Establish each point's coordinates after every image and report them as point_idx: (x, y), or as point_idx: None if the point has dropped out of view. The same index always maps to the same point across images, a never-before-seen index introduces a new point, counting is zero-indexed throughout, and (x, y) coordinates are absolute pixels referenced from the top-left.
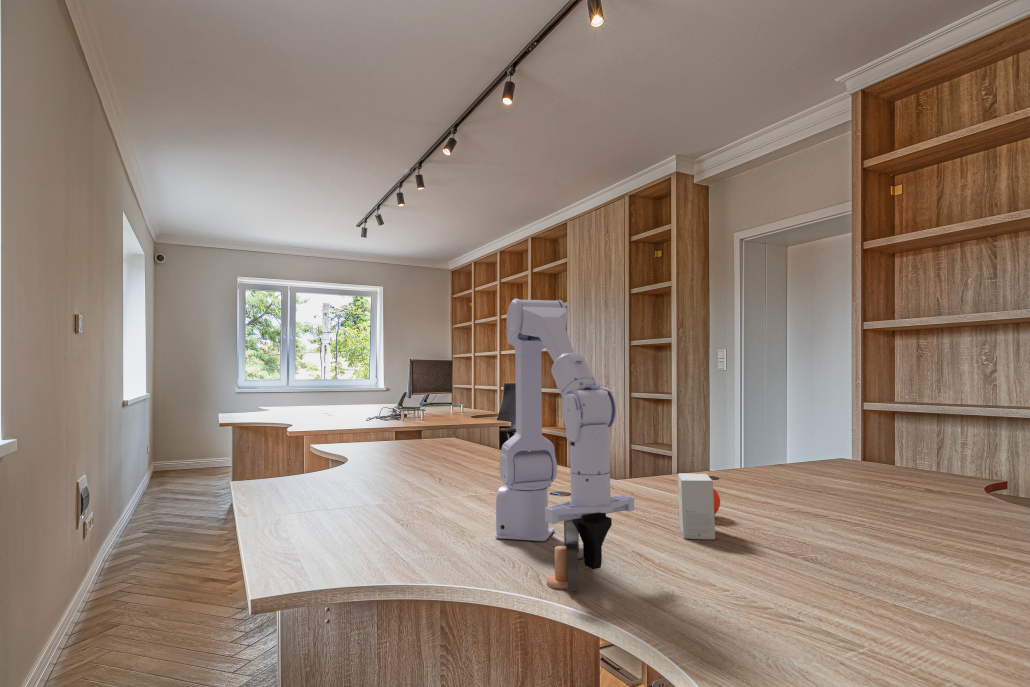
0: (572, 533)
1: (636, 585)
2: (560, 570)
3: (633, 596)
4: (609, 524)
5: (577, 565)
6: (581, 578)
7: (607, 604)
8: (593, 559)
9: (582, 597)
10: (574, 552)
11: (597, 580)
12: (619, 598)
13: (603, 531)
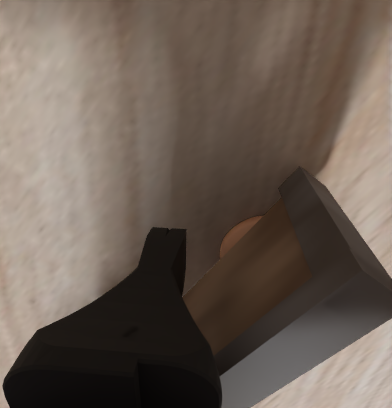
0: (231, 391)
1: (72, 121)
2: None
3: (142, 43)
4: (54, 337)
5: (325, 208)
6: (191, 254)
7: (274, 37)
8: (181, 249)
9: (296, 141)
10: (358, 249)
11: (160, 220)
12: (198, 59)
13: (114, 314)
